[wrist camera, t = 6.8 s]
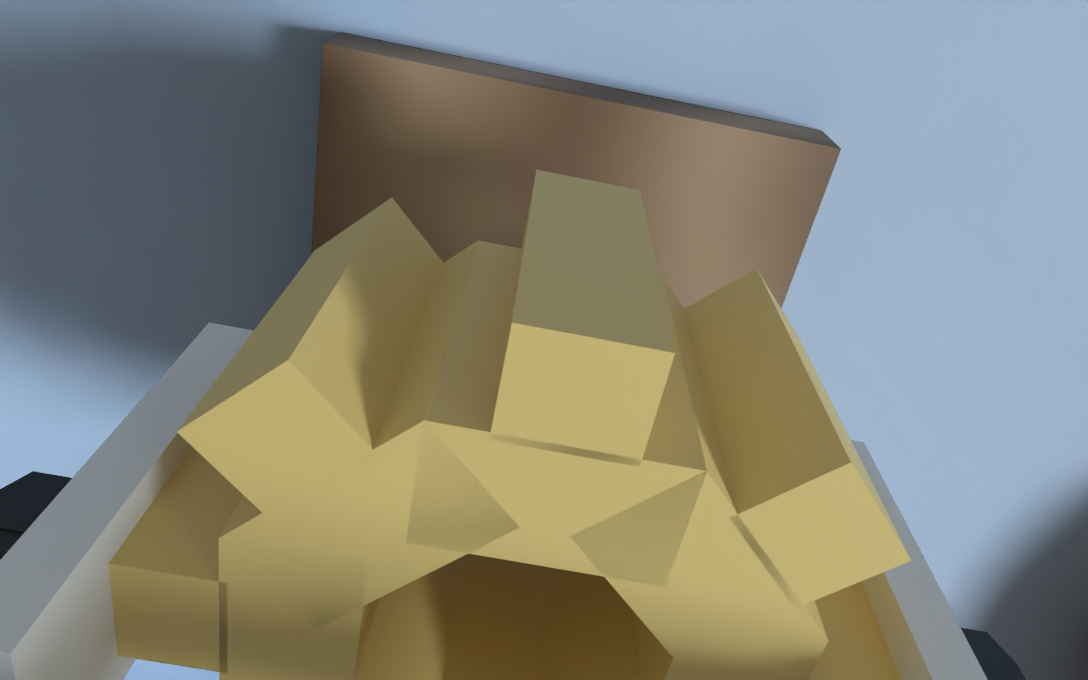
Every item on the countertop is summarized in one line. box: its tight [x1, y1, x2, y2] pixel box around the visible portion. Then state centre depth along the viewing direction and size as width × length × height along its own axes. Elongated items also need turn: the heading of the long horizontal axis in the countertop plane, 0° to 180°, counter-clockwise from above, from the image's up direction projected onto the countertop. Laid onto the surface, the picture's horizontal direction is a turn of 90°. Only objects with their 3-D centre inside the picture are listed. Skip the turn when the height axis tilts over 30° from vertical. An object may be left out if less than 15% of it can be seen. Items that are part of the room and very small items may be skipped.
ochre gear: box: [109, 170, 911, 680], centre depth 12 cm, size 10×10×5 cm
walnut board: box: [312, 33, 841, 309], centre depth 19 cm, size 11×21×8 cm, turn 169°
